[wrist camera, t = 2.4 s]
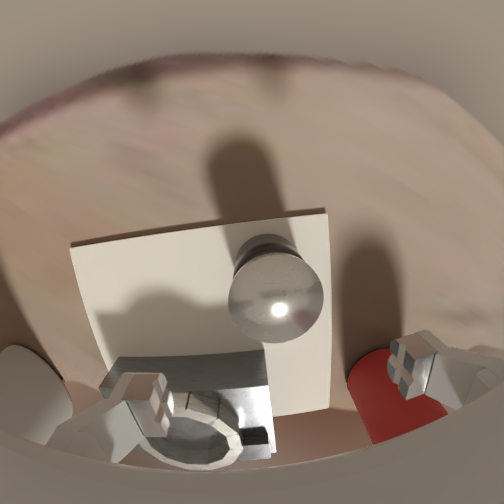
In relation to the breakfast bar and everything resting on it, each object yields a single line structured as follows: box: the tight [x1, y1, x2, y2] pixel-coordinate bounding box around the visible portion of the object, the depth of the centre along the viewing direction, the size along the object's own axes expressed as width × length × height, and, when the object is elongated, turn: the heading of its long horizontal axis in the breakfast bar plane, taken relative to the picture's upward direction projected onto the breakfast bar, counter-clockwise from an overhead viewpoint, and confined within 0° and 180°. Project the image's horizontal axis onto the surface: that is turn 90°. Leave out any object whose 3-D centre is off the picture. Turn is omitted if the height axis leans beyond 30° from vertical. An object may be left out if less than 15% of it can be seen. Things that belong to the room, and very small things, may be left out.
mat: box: [69, 213, 332, 417], centre depth 24 cm, size 22×20×1 cm
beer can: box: [347, 349, 448, 445], centre depth 19 cm, size 7×7×12 cm
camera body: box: [99, 349, 276, 470], centre depth 21 cm, size 14×9×7 cm, turn 97°
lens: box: [228, 234, 324, 343], centre depth 18 cm, size 5×5×7 cm
